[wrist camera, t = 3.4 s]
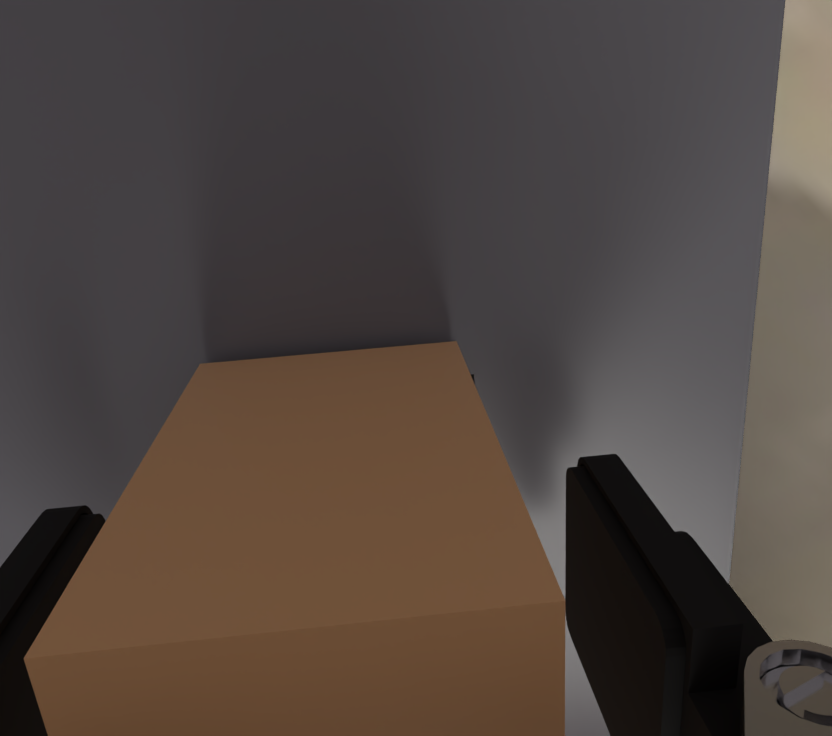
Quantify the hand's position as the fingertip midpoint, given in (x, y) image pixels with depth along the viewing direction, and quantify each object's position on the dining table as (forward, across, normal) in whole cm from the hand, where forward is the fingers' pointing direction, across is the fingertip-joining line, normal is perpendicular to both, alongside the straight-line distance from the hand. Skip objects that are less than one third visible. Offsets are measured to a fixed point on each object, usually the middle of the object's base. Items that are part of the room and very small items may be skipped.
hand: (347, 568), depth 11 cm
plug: (+6, 0, 0) cm, 6 cm away
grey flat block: (+6, 0, 0) cm, 6 cm away
